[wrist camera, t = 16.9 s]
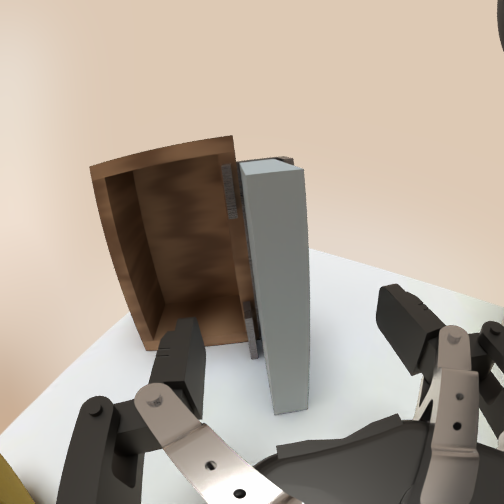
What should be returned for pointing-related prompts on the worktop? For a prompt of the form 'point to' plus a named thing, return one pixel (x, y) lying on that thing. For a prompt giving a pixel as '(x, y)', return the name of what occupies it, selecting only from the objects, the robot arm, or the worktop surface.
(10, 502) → the flower pot
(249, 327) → the hinge clips
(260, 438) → the worktop surface
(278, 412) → the door
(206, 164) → the cabinet
